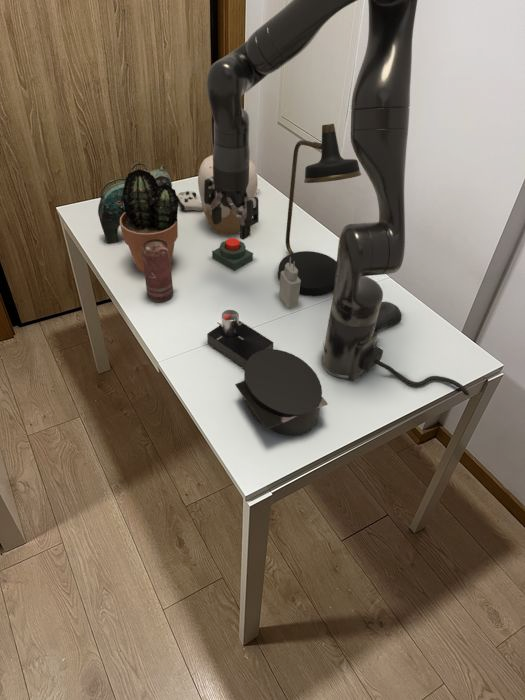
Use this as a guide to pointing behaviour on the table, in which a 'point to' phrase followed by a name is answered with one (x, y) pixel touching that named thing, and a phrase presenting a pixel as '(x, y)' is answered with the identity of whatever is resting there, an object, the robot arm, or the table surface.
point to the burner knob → (230, 323)
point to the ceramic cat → (121, 203)
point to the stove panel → (238, 343)
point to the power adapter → (289, 286)
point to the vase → (229, 220)
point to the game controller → (189, 201)
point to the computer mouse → (387, 316)
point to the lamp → (311, 265)
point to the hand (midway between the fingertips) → (230, 230)
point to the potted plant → (148, 214)
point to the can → (157, 270)
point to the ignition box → (232, 256)
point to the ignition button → (232, 244)
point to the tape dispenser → (282, 392)
